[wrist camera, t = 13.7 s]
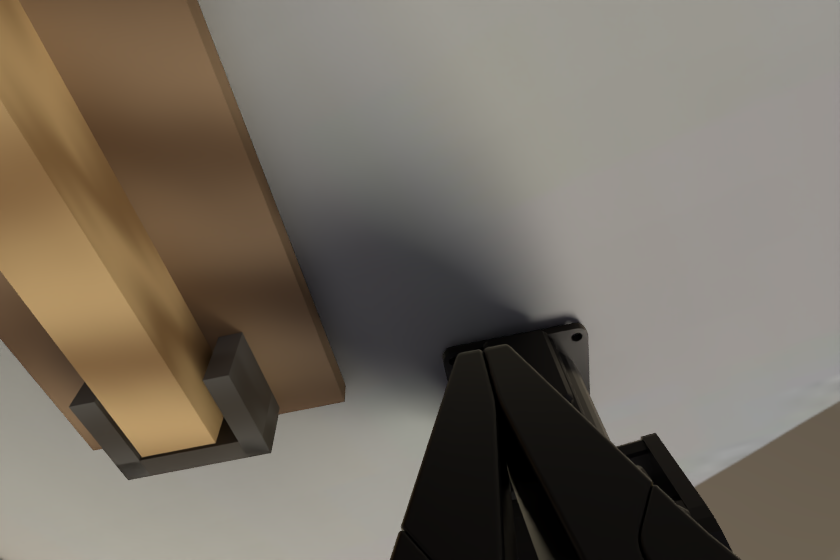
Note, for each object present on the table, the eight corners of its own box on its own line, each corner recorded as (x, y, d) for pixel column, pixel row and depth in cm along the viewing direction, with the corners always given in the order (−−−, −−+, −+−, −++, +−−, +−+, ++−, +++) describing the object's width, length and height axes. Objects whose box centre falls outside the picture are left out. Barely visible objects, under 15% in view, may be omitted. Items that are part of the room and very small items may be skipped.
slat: (232, 387, 24) (215, 442, 21) (166, 400, 24) (142, 457, 21) (-173, -346, 11) (-326, -420, 9) (-302, -309, 11) (-490, -374, 9)
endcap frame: (345, 385, 25) (341, 445, 22) (102, 433, 26) (68, 498, 23) (-3, -518, 11) (-140, -678, 8) (-532, -364, 11) (-840, -461, 9)
